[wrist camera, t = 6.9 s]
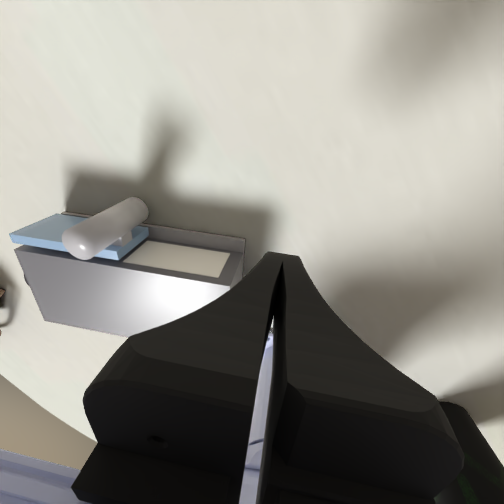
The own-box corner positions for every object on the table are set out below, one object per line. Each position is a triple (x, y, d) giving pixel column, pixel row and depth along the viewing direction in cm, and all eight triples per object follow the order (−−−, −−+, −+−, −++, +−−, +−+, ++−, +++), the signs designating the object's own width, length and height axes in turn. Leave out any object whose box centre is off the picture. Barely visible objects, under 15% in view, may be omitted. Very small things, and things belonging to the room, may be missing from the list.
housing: (245, 238, 21) (230, 272, 16) (239, 313, 25) (226, 357, 20) (52, 209, 22) (-8, 233, 18) (75, 284, 26) (32, 318, 22)
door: (148, 197, 20) (90, 231, 14) (153, 235, 21) (102, 279, 16) (47, 183, 20) (-45, 210, 15) (59, 221, 22) (-21, 257, 17)
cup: (385, 426, 29) (432, 600, 19) (419, 387, 25) (501, 578, 15) (454, 444, 29) (541, 633, 18) (498, 407, 25) (640, 619, 15)
